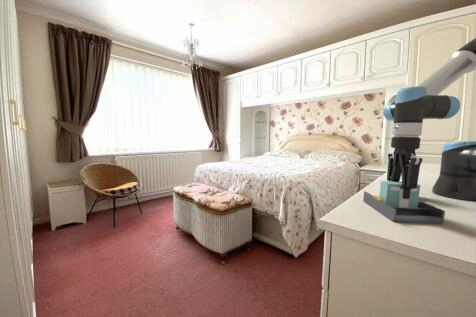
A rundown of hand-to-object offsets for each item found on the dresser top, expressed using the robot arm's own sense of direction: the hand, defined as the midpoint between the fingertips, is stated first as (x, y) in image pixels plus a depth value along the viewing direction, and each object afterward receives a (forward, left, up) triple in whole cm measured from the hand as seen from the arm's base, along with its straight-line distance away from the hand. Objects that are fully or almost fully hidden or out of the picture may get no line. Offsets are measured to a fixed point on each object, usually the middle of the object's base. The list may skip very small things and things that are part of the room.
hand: (398, 204), depth 73 cm
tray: (0, 0, -2) cm, 2 cm away
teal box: (0, 0, 0) cm, 1 cm away
